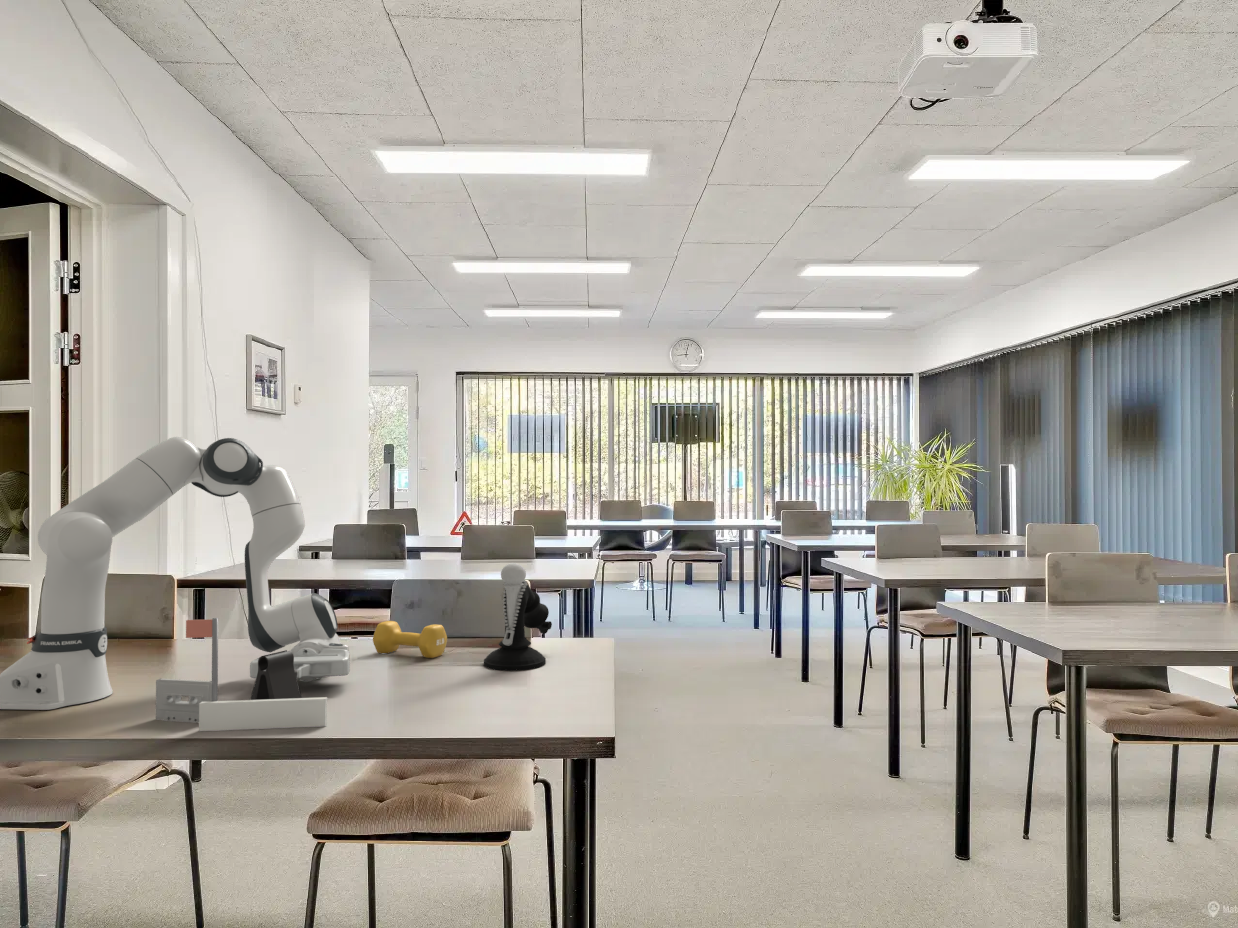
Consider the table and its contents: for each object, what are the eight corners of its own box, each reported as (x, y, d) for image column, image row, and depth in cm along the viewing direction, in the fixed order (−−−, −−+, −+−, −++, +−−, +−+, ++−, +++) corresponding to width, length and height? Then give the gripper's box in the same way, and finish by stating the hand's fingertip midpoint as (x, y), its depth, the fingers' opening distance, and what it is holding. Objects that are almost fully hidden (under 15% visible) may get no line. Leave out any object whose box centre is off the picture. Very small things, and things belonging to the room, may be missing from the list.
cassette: (216, 721, 152) (216, 680, 153) (209, 723, 151) (210, 682, 151) (160, 717, 155) (160, 677, 155) (153, 720, 153) (153, 680, 153)
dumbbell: (450, 654, 212) (450, 622, 212) (429, 661, 203) (429, 628, 204) (391, 648, 219) (391, 618, 219) (369, 655, 211) (369, 623, 211)
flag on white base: (181, 731, 145) (182, 620, 146) (209, 710, 159) (210, 608, 159) (325, 726, 149) (326, 617, 149) (341, 705, 162) (341, 606, 163)
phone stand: (304, 714, 156) (305, 652, 157) (279, 722, 151) (280, 658, 151) (272, 708, 160) (272, 648, 161) (246, 716, 155) (246, 653, 155)
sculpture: (471, 667, 196) (472, 564, 196) (520, 648, 218) (520, 556, 218) (527, 673, 190) (527, 566, 191) (571, 653, 212) (570, 558, 212)
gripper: (260, 646, 179) (239, 660, 166) (355, 644, 182) (342, 657, 168) (260, 675, 179) (239, 691, 165) (355, 672, 182) (342, 687, 168)
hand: (292, 674), depth 167 cm, fingers closed
